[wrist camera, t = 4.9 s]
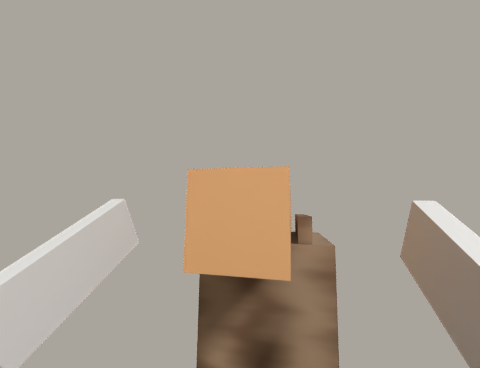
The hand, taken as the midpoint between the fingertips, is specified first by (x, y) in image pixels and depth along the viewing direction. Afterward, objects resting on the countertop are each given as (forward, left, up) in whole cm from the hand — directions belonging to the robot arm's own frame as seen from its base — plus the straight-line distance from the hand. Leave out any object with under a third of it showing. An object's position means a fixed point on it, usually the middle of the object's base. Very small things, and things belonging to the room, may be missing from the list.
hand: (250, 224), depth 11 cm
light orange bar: (0, +9, -2) cm, 9 cm away
